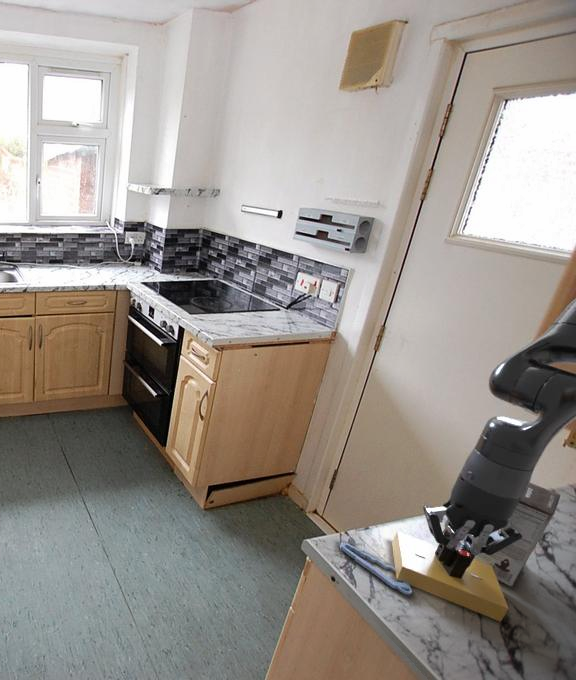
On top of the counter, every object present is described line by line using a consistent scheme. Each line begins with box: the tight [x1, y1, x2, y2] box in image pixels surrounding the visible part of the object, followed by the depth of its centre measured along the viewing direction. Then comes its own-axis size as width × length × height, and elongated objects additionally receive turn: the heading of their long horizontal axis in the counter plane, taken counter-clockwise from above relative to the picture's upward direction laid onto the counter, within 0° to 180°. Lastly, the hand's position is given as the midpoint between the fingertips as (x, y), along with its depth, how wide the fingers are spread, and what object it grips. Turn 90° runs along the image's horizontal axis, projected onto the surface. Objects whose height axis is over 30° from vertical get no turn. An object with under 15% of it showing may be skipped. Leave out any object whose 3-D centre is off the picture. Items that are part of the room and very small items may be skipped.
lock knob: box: [443, 541, 472, 579], centre depth 78 cm, size 5×2×5 cm, turn 164°
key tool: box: [339, 541, 413, 596], centre depth 81 cm, size 12×1×5 cm
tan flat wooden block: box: [391, 530, 509, 623], centre depth 79 cm, size 14×10×3 cm
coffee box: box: [474, 482, 561, 587], centre depth 81 cm, size 9×6×16 cm
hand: (449, 563), depth 78 cm, fingers closed on lock knob, 2 cm apart
